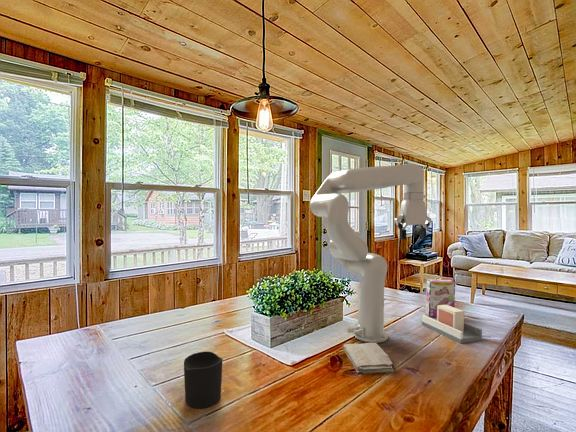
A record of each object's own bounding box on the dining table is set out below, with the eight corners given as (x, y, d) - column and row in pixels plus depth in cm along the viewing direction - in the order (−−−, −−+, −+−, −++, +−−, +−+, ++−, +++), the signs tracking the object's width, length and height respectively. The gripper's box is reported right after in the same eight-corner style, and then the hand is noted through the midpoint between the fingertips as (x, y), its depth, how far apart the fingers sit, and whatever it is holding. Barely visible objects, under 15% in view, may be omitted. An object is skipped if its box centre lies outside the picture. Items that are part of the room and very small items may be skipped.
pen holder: (224, 388, 87) (225, 351, 87) (218, 409, 78) (218, 368, 77) (189, 388, 87) (189, 351, 87) (178, 410, 77) (178, 368, 77)
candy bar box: (429, 317, 147) (429, 281, 146) (425, 313, 152) (426, 278, 151) (455, 318, 146) (455, 281, 145) (450, 314, 151) (451, 279, 150)
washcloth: (357, 376, 95) (357, 365, 95) (341, 349, 113) (341, 341, 113) (396, 374, 96) (396, 364, 96) (374, 348, 114) (374, 339, 114)
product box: (436, 325, 133) (436, 305, 132) (446, 323, 134) (446, 304, 134) (453, 333, 124) (454, 312, 124) (464, 331, 126) (464, 311, 125)
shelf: (421, 324, 137) (422, 315, 137) (440, 322, 140) (441, 313, 140) (460, 343, 118) (460, 332, 118) (481, 340, 121) (481, 329, 121)
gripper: (424, 198, 140) (423, 238, 140) (390, 197, 134) (389, 238, 134) (437, 197, 132) (436, 239, 133) (401, 196, 127) (401, 240, 127)
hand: (412, 239), depth 134 cm, fingers open, 9 cm apart
